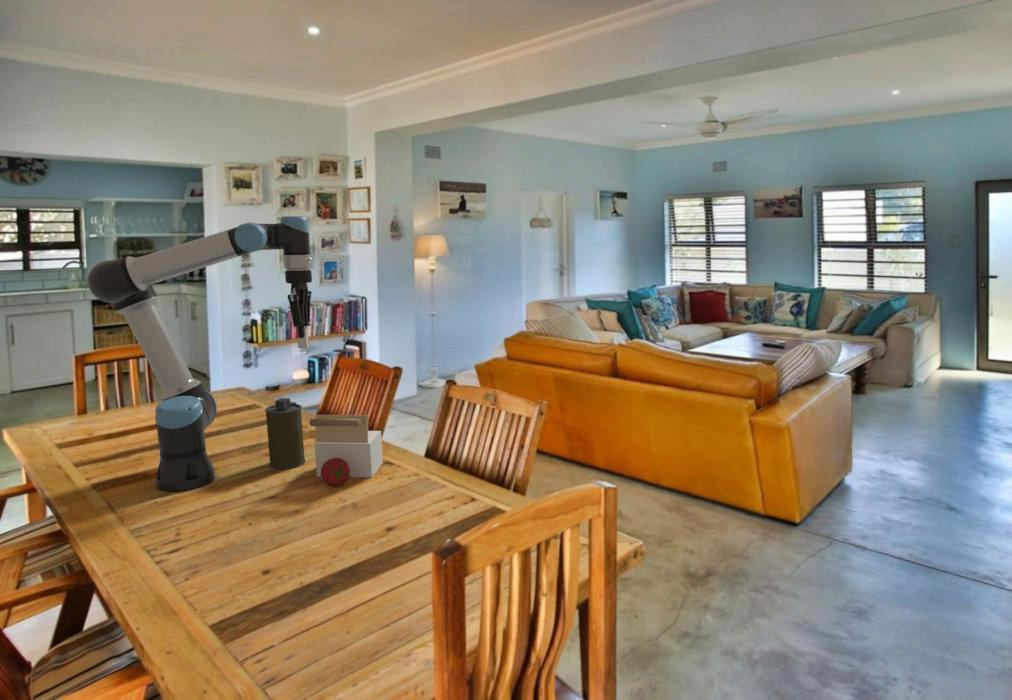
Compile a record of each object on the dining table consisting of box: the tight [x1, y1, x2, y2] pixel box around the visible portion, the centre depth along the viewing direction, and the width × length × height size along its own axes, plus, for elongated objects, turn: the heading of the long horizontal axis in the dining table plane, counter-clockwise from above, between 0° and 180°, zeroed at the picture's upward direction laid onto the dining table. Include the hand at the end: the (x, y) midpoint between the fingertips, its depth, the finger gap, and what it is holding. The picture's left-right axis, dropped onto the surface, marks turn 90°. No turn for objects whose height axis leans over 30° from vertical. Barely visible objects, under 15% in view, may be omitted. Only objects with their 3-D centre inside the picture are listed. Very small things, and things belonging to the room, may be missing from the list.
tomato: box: [321, 458, 350, 488], centre depth 183 cm, size 8×8×8 cm
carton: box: [314, 430, 384, 478], centre depth 195 cm, size 16×12×10 cm
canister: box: [264, 397, 306, 470], centre depth 200 cm, size 11×10×20 cm
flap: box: [309, 414, 369, 444], centre depth 184 cm, size 15×8×7 cm
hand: (303, 347), depth 202 cm, fingers closed
